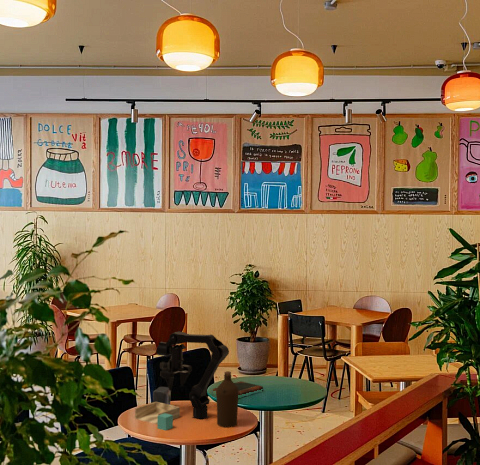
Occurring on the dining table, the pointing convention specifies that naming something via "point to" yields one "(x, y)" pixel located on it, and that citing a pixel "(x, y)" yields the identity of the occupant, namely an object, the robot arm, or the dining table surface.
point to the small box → (162, 395)
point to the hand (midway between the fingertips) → (176, 388)
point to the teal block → (165, 421)
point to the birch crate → (156, 411)
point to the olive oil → (227, 402)
